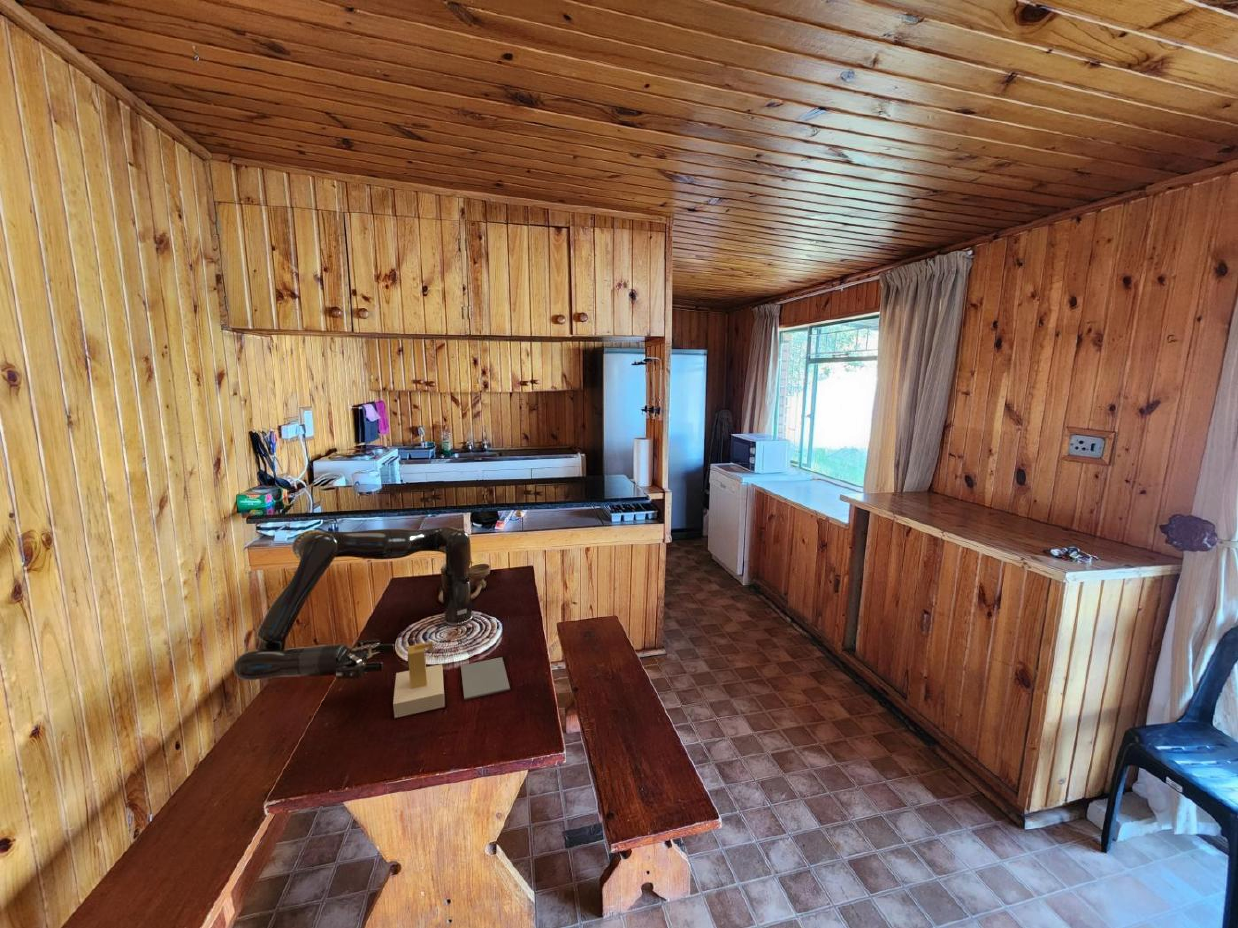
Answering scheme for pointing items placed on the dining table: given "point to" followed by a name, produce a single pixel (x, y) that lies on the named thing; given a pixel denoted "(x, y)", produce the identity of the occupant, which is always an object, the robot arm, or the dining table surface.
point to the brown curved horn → (475, 573)
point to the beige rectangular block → (418, 693)
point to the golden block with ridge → (418, 664)
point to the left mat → (484, 678)
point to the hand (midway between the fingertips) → (388, 656)
